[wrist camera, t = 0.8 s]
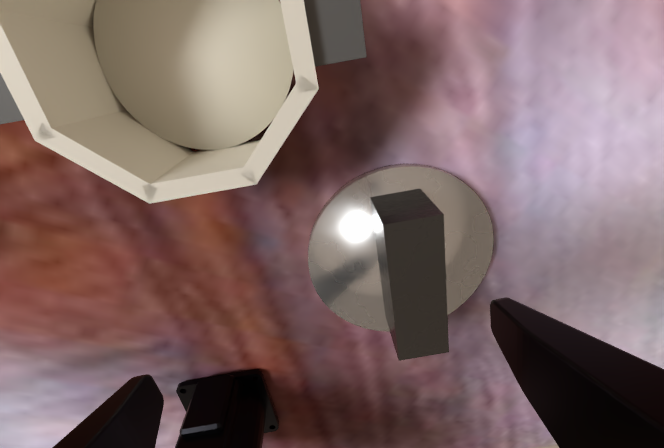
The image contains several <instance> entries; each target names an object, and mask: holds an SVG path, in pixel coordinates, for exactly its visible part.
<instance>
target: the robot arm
mask: <svg viewBox="0 0 664 448" xmlns="http://www.w3.org/2000/svg"><path fill="white" fill-rule="evenodd" d="M490 316H491V329H492V332H493V335H494V337H495V339H496V341H497V343H498V345H499V347H500V349H501V351H502V352H503V354H504V356H505V358H506V360H507V362H508V364H509V366H510V368H511V370H512V372H513V374H514V376H515V378H516V380H517V382H518V383H519V385H520V387H521V389H522V391H523V392H524V394H525V396H526V397H527V399H528V400H529V402H530V403H531V405H532V406H533V408H534V409H535V411H536V413H537V414H538V416H539V417H540V419H541V420H542V422H543V423H544V425H545V426H546V428H547V429H548V431H549V432H550V434H551V435H552V437H553V438H554V440H555V441H556V443H557V445H558V446H559V448H664V369H662V368H660V367H658V366H656V365H653V364H651V363H649V362H647V361H645V360H643V359H640V358H638V357H636V356H634V355H632V354H629V353H627V352H625V351H623V350H621V349H619V348H616V347H614V346H612V345H610V344H608V343H606V342H603V341H601V340H599V339H597V338H595V337H593V336H590V335H588V334H586V333H584V332H582V331H580V330H577V329H575V328H573V327H571V326H569V325H566V324H564V323H562V322H560V321H558V320H556V319H553V318H551V317H549V316H547V315H545V314H543V313H540V312H538V311H536V310H534V309H532V308H530V307H527V306H525V305H523V304H521V303H519V302H517V301H514V300H512V299H510V298H501V299H496V300H493V301H492V302H491V304H490ZM254 376H256V377H254ZM176 391H177V394H178V396H179V398H180V400H181V402H182V404H183V406H184V408H185V410H186V415H185V418H184V420H183V423H182V426H181V429H180V435H179V438H178V441H177V444H176V446H175V448H262V443H263V435H264V433H267V432H273V431H276V430H278V428H279V421H278V418H277V415H276V412H275V409H274V406H273V403H272V400H271V397H270V394H269V392H268V389H267V386H266V383H265V380H264V377H263V374H262V372H261V371H259V370H250V371H245V372H239V373H233V374H227V375H221V376H215V377H210V378H204V379H198V380H192V381H186V382H182V383H180V384H179V385H178V387H177V390H176ZM163 405H164V400H163V395H162V393H161V392H160V390H159V388H158V386H157V385H156V383H155V381H154V380H153V378H152V376H150V375H147V374H146V375H141V376H136V377H133V378H131V379H130V380H129V381H128V382H127V383H125V384H124V385H123V386H122V387H121V388H120V389H119V390H118V391H116V392H115V393H114V394H113V395H112V396H111V397H110V398H108V399H107V400H106V401H105V402H104V403H103V404H102V405H101V406H99V407H98V408H97V409H96V410H95V411H94V412H93V413H91V414H90V415H89V416H88V417H87V418H86V419H85V420H83V421H82V422H81V423H80V424H79V425H78V426H77V427H76V428H74V429H73V430H72V431H71V432H70V433H69V434H68V435H66V436H65V437H64V438H63V439H62V440H61V441H60V442H59V443H57V444H56V445H55V446H54V447H53V448H155V444H156V439H157V434H158V430H159V425H160V420H161V415H162V410H163Z"/></svg>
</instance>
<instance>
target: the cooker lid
mask: <svg viewBox="0 0 664 448" xmlns="http://www.w3.org/2000/svg"><path fill="white" fill-rule="evenodd" d="M493 243H494V239H493V228H492V223H491V219H490V217H489V214H488V211H487V209H486V207H485V206H484V204H483V202H482V201H481V199H480V198H479V197H478V196H477V194H476V193H475V192H474V191H473V190H472V189H471V188H470V187H468V186H467V185H466V184H465V183H464V182H462V181H461V180H459V179H458V178H456V177H455V176H453V175H452V174H450V173H448V172H445V171H443V170H441V169H438V168H435V167H431V166H427V165H420V164H396V165H389V166H385V167H380V168H377V169H374V170H371V171H369V172H366V173H364V174H362V175H360V176H358V177H356V178H354V179H353V180H351V181H350V182H348V183H347V184H346V185H344V186H343V187H341V188H340V189H339V190H338V191H337V192H336V193H335V194H334V195H333V196H332V197H331V198H330V199H329V200H328V202H327V203H326V204H325V205H324V207H323V208H322V210H321V211H320V213H319V215H318V217H317V219H316V221H315V223H314V225H313V228H312V231H311V235H310V240H309V246H308V265H309V272H310V276H311V279H312V283H313V285H314V287H315V289H316V291H317V293H318V295H319V296H320V298H321V299H322V301H323V302H324V303H325V304H326V305H327V306H328V307H329V309H331V310H332V311H333V312H334V313H335V314H337V315H338V316H339V317H341V318H343V319H344V320H346V321H348V322H350V323H352V324H354V325H357V326H360V327H363V328H366V329H371V330H377V331H390V333H391V336H392V340H393V343H394V346H395V350H396V353H397V356H398V359H399V360H405V359H411V358H417V357H423V356H428V355H434V354H440V353H446V352H449V344H448V317H447V315H448V314H450V313H451V312H453V311H454V310H456V309H457V308H458V307H460V306H461V305H462V304H463V303H464V302H465V301H466V300H467V299H468V298H469V297H470V296H471V295H472V294H473V293H474V292H475V290H476V289H477V287H478V286H479V284H480V283H481V281H482V280H483V278H484V276H485V274H486V272H487V269H488V267H489V264H490V261H491V257H492V253H493Z"/></svg>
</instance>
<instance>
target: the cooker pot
mask: <svg viewBox="0 0 664 448" xmlns="http://www.w3.org/2000/svg"><path fill="white" fill-rule="evenodd" d="M280 3H281V4H280ZM365 57H366V48H365V39H364V30H363V22H362V13H361V4H360V0H280V2H279V0H0V124H4V123H9V122H15V121H20V120H25V122H26V124H27V126H28V128H29V130H30V132H31V134H32V136H33V138H34V139H35V141H37V142H39V143H40V144H42V145H44V146H46V147H48V148H50V149H51V150H53V151H55V152H57V153H59V154H60V155H62V156H64V157H66V158H68V159H69V160H71V161H73V162H75V163H77V164H79V165H80V166H82V167H84V168H86V169H88V170H89V171H91V172H93V173H95V174H97V175H99V176H100V177H102V178H104V179H106V180H108V181H109V182H111V183H113V184H115V185H117V186H119V187H120V188H122V189H124V190H126V191H128V192H129V193H131V194H133V195H135V196H137V197H139V198H140V199H142V200H144V201H146V202H148V203H149V204H150V203H155V202H161V201H166V200H172V199H178V198H183V197H189V196H194V195H200V194H206V193H211V192H217V191H222V190H228V189H234V188H239V187H245V186H250V185H256V184H257V183H258V181H259V180H260V178H261V177H262V175H263V174H264V172H265V171H266V169H267V168H268V166H269V164H270V163H271V161H272V160H273V158H274V157H275V155H276V154H277V152H278V151H279V149H280V148H281V146H282V145H283V143H284V141H285V140H286V138H287V137H288V135H289V134H290V132H291V131H292V129H293V128H294V126H295V125H296V123H297V122H298V120H299V118H300V117H301V115H302V114H303V112H304V111H305V109H306V108H307V106H308V105H309V103H310V102H311V100H312V99H313V97H314V95H315V94H316V92H317V91H318V90H319V87H318V81H317V76H316V70H315V66H321V65H326V64H332V63H337V62H343V61H348V60H354V59H359V58H365ZM293 70H294V75H295V80H296V84H295V86H294V88H293V89H292V91H291V92H290V94H289V96H288V97H287V95H288V92H289V89H290V86H291V82H292V77H293ZM286 97H287V99H286ZM271 122H272V123H271ZM270 123H271V124H270ZM269 124H270V126H269V127H268V129H267V131H266V132H265V134H264V135H263V137H262V139H261V140H256V141H250V142H246V141H248V140H250V139H251V138H253V137H255V136H256V135H258V134H259V133H260V132H261V131H263V130H264V129H265V128H266V127H267V126H268V125H269ZM244 142H245V143H244ZM187 147H188V148H187ZM189 148H194V149H201V150H200V151H195V152H194V151H192V150H190V149H189Z"/></svg>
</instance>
